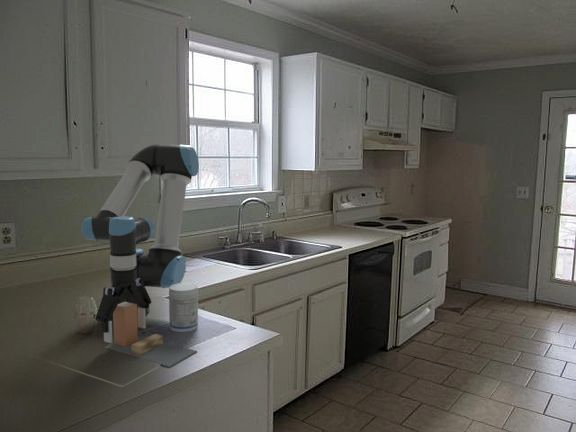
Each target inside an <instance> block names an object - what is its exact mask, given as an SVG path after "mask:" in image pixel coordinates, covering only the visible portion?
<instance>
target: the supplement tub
mask: <svg viewBox="0 0 576 432" xmlns="http://www.w3.org/2000/svg"><path fill="white" fill-rule="evenodd" d="M168 305H169V306H168V309H169V310H168V311H169V312H168V313H169V329H170V331H172V332H175V333H188V332H192V331H195V330H196V329H198V327H199V289H198V285H197V284H195V283H192V282H181V283H177V284H173V285H171V286H170V287H169V288H168Z"/></svg>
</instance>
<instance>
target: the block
mask: <svg viewBox="0 0 576 432" xmlns="http://www.w3.org/2000/svg"><path fill="white" fill-rule="evenodd" d="M138 328H139V327H138V317H137V304H134V303H129V302H123V303H120V304H118V305H117V307H116V309H115V311H114V313H113V318H112V331H113V343H114V344H118V345H121V346H125V347H126V346H128V345H131V344H133V343H135V342H137V341H138V335H139V333H138V332H139V331H138Z"/></svg>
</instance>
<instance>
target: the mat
mask: <svg viewBox="0 0 576 432" xmlns="http://www.w3.org/2000/svg"><path fill="white" fill-rule="evenodd" d="M147 337H148V336H147ZM147 337H146V336H143V335H139V334H138V341H141V340H143V339H145V338H147ZM138 341H137V342H138ZM135 343H136V342H135ZM133 344H134V343H133ZM131 345H132V344H131ZM131 345H128V346H126V347H125V346H121V345H118V344H114V342H112V343H109V344H108V345H105V346H104V348H105V349H108V350H112V351H115V352H117V353H123V354H126V355H129V356H132V357H136V358H139V359H142V360H145V361H149V362H152V363H156V364H159V365H160V366H162V367H165V368H169V369H170V368H171V367H174V366H175V365H177V364H179V363H181V362H182V361H184V360H185V359H188V358H189V357H191V356H193V355H195V354H196V353H198V350H195V349H191V348H188V347H183V346H180V345H176V344H173V343H168V342H164V341H163V344H161V345H159V346H157V347H155V348H153V349H151V350H149V351H147V352H145V353H143V354H141V355H136V354H132V353H131Z"/></svg>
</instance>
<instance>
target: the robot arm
mask: <svg viewBox="0 0 576 432" xmlns="http://www.w3.org/2000/svg"><path fill="white" fill-rule="evenodd" d="M197 154H198V153H197V151H196V149H195V148H194V147H193V146H192V145H188V144H187V145H186V144H157V143H155V144H151V145H148V146H146V147H144V148H142V149H140V150H139V151H137V153H135V154H134V155H133V156H132V157H131V158H130V159H129V160H128V162H127V164H126V166H125V172H124V173H123V175H122V177H121V178H120V179H119V181H118V183H117V184H116V185H115V187H114V188H113V190H112V192H111V193H110V194H109V196H108V198H107V199H106V201H105V203H104V204H103V205H102V206H101V208H100V210H99V212H98V213H97V214H96V216H88V217H87V218H85V219H84V220H83V221H82V223H81V233H82V235H83V238H85V239H86V240H90V241H96V242H99V241H100V242H101V241H103V242H109V277H110V278H109V279H110V287H107V286H106V287H104V288H103V289H102V290H103V291H102V292H103V293H102V297H101V301H100V304H99V307H98V310H97V313H96V316H95V317H94V318H95V321H96V322H99V323H101V332H102V333H103V342H106V343H109V344H112V343H113V320H111V318H112V319H113V313H114V311H115V309H116V307H117V305H118V304H120V303H123V302H129V303H134V304H137V326H138V328H140V329H146V328H147V319H146V317H147V315H148V313H150V310H151V309H150V305H152V299H151V297H150V295H149V293H148V290H147V289H146V287H147V288H148V287H149V288H150V287H151V288H161V289H169V287H170V286H171V285H173V284H177V283H182V281H183V279H184V276H185V274H186V270H187V269H186V268H187V264H186V262H187V261H186V258H185V257H184V256H183V255H182V253H183V252H182V251H181V249H180V248H179V244H180V237H181V228H182V223H183V214H184V206H185V200H186V199H185V198H186V190H187V186H188V185H189V184H191V182H192V179H193V178H192V177H196V176H197V175H198V173H199V168H200V167H199V166H200V165H199V158H198V155H197ZM153 176H159V178H160V179H161V181H162V182H163V183H162V188H161V197H160V203H159V209H158V216H157V222H156V228H155V224H154V222H153V221H152V220H151V219H150V218H148V217H138V218H134V217H133V216H126V213H127V212H128V210H129V209H130V206H131V205H132V204H133V201H134V200H135V199H136V197H137V195H138V194H139V192H140V190H141V189H142V186H144V184H145V182H148V181H150V179H151V177H153ZM154 234H155V236H154ZM153 236H154V242H153V243H154V244H153V245H151V246H150V247H149V249H148V252H147V253H144V249H142V248H137V244H140V243H143V242H146V241H148V240H149V239H151V238H152V237H153Z"/></svg>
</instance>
